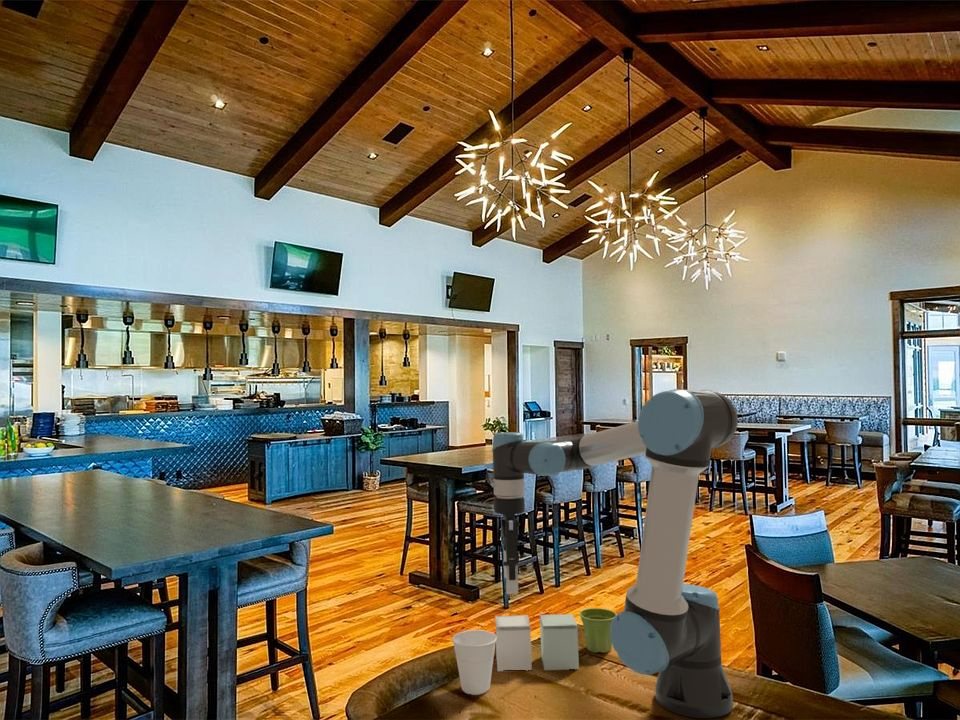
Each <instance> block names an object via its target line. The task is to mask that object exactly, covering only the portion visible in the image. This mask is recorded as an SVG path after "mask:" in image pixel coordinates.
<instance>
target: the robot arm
mask: <svg viewBox="0 0 960 720" xmlns="http://www.w3.org/2000/svg"><path fill="white" fill-rule="evenodd" d="M738 418H739V417H738V413H737V409H736V408H735V405H734V404H733V402H732V401H731V400H730V399H729V398H728V397H727V396H726V395H724V394H723V393H720V392H719V391H715V390H712V389H678V388H675V389H670V390H665V391H661V392H657V393H656V394H654V395H652V397H650V398H649V399H647V401H646V402H645V403H644V405H643V406H642V408H641V410H640V412H639V415H638V418H637V419H638V420H637V421H633V422H630V423H626V424H622V425H619V426H618V425H617V426H615V427H612V428H608V429H607V428H606V429H604V430H600V431H597V432H593V433H590V434H585V435H582V436H578V437H575V438H570V439H562V440H561V439H560V440H550V441H549V440H547V441H525V440H524V435H523V433H521V432H515V431H513V432H509V431H508V432H497V433H495V434H494V435H493V437H492V449H491V452H492V469H493V470H492V471H493V475H492V476H493V482H491V483H490V485H491V488H492V487H493V496H494V498H493V512H495V514H497V515H502V516H503V518H501V522H500V523H501V530H502V531H501V533H502V536H503V537H502V538H503V542H502V544H503V579H504V578H505V581H506V582H505V583H506V584H505V589H506V590H505V591H506V595H518V594H519V565H518V564H519V560H518V558H519V557H518V540H517V539H518V536H519V535H518V529H519V521H518V519H516V516H515V515H520V514H524V512H526V511H525V509H526V507H525V506H526V504H525V502H526V501H525V497H524V495H525V494H526V493H525V489H526V488H525V474H529V475H536V476H537V475H538V476H541V477H547V476H550V477H552V476H557V475H559V474H560V473H563V472H568V471H569V472H570V471H581V470H587V469H589V468H592V467H594V466H598V465H603V464H608V463H612V462H616V461H621V460H626V459H630V458H635V457H639V456H644V455H645V458H646V459H647V461H648V462H649V463H650V464H651V470H650V471H651V473H650V480H649V486H648V495H647V499H646V501H647V502H646V507H645V516H644V522H643V529H642V538H641V545H640V552H639V558H638V560H639V561H638V568H637V573H636V574H637V575H636V582H635V584H633V585H632V586H630V587H628V588H627V590H626V592H625V593H626V594H625V601H624V608H623V610H622V611H620V612H619V613H616V614H617V615H616V616H615V617H614V619H613V620H612V623H611V626H610V638H611V642H612V648H613V650H614V652H616V654H617V656H618V658H619V660H620V661H621V662H622V663H623V664H624V665H625V666H626V667H627V668H628V669H629V670H631V671H633V672H634V673H636V674H639V675H643V676H645V675H646V676H649V675H654V674H657V673H658V674H657V678H656V682H655V687H654V688H655V689H654V692H655V700H656V702H657V703H658V704H659V705H660V706H661V707H662V708H663V709H665V710H667V711H669V712H671V713H673V714H676V715H680V716H683V717H688V718H693V719H695V718H696V719H712V718H720V717H723V716H726V715H728V714H729V713H730V712H732V710H733V708H734V701H733V698H734V697H733V696H734V695H733V693H732V689H731V686H730V684H729V681H728V678H727V676H726V672H725V670H724V667H723V663H722V641H721V639H722V638H721V621H720V620H721V619H720V611H721V608H720V606H719V597H718V594H717V593H716V592H715V591H713V590H712V589H711V588H708V587H704V586H701V585H700V586H699V585H697V584H689V583H684V579H685V574H686V573H685V572H686V567H687V561H688V560H687V559H688V552H689V546H690V538H691V533H692V525H693V524H692V523H693V520H694V519H693V517H694V510H695V504H696V498H697V490H698V484H699V479H700V477H699V476H700V474H702V472H704V471H705V470H706V469H709V467H710V460H711V454H712V449H716V448H720V447H721V446H725V444H727V443H728V442H730V440H731V439H733V437H734V435H735V433H736V431H737V429H738V426H739V424H738V423H739V419H738Z"/></svg>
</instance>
